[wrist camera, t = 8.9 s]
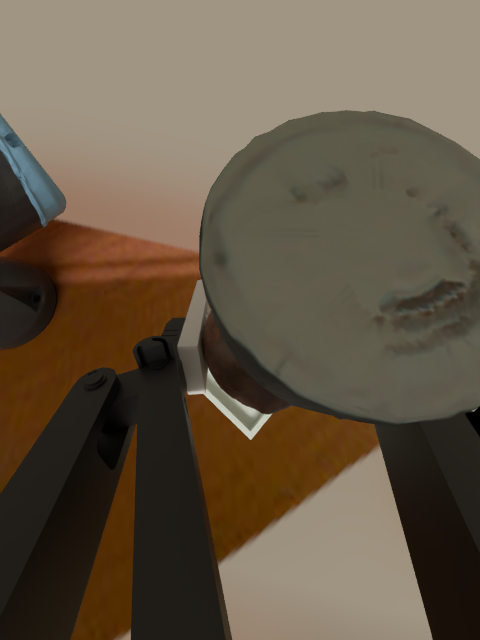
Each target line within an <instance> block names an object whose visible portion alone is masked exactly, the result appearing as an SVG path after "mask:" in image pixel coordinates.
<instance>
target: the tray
mask: <svg viewBox="0 0 480 640" xmlns="http://www.w3.org/2000/svg"><path fill="white" fill-rule="evenodd" d="M204 395H205V396H206V397H207V398H208V399H209V400H210V401H211V402H212V403H213V404H214V405H215V406H216V407H217V408H219V409H220V410H221V411H222V412H223V413H224V414H225V415H226V416H227V417H228V418H229V419H230V420H231V421H232V422H233V423H234V424H235V425H236V426H237V427H238V428H239V429H240V430H241V431H242V432H243V433H244V434H245V435H246V436H247V437H248V438H249V439H250V440H251V439H252V438H253V437H254V436H255V434H256V433H257V432H258V431H259V429H260V428H261V427H262V426H263V424H264V423H265V422H266V421H267V419H268V418H269V417H270V416H271V414H262V413H260V412H259V411H257V410H255V409H253V408H250V407H247V406H245V405H243V404H241V403H240V402H238V401H237V400H236V399H233V398H231V397H230V396H229V395H228V394H227V393H225V392H224V391H223V390H222V389H221V388H220V387H219V385H218V384H217V383H216V381H215V379H214V378H213V376H212V374H211V373H210V371H209V368H208V374H207V384H206V393H205V394H204Z"/></svg>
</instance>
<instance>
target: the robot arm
mask: <svg viewBox="0 0 480 640" xmlns="http://www.w3.org/2000/svg"><path fill="white" fill-rule="evenodd" d="M65 208H66V200H65V197H64V195H63V194H62V192H61V191H60V190H59V188H58V187H57V186H56V184H55V183H54V182H53V181H52V179H51V178H50V177H49V176H48V174H47V173H46V172H45V170H44V169H43V168H42V167H41V165H40V164H39V163H38V161H37V160H36V159H35V158H34V156H33V155H32V154H31V152H30V151H29V150H28V149H27V147H26V146H25V145H24V144H23V142H22V141H21V140H20V138H19V137H18V136H17V134H16V133H15V132H14V131H13V129H12V128H11V127H10V126H9V124H8V123H7V122H6V120H5V119H4V118H3V117H2V115H1V114H0V252H1V251H3V250H4V249H6V248H8V247H9V246H11V245H13V244H15V243H16V242H18V241H20V240H21V239H23V238H25V237H26V236H28V235H30V234H32V233H33V232H35V231H37V230H38V229H40V228H42V227H46V226H47V224H48V222H49V221H51V220H52V219H54V218H55V217H57V216H58V215H60V214H61V213H63V211H64V210H65ZM55 305H56V291H55V287H54V284H53V282H52V280H51V279H50V278H49V276H48V275H47V274H46V273H45V272H43V271H42V270H40V269H38V268H36V267H34V266H32V265H30V264H28V263H26V262H23V261H20V260H16V259H11V258H5V257H0V350H2V349H10V348H14V347H18V346H20V345H23V344H25V343H27V342H28V341H30V340H32V339H33V338H34V337H36V336H37V335H38V334H39V333H40V332H41V331H42V330H43V329H44V328H45V327H46V325H47V324H48V322H49V321H50V319H51V317H52V315H53V313H54V310H55ZM210 311H211V309H210V307H209V304H208V301H207V299H206V296H205V291H204V287H203V283H202V280H198V281H197V284H196V287H195V291H194V294H193V297H192V300H191V304H190V307H189V310H188V313H187V316H186V318H173V319H171V320H170V321H169V322H168V323H167V324H166V326H165V328H164V331H163V333H162V335H161V336H152V337H149V338H146V339H144V340H142V341H140V342H139V343H138V344H137V345H136V346H135V347H134V349H133V354H134V356H135V359H136V361H137V364H138V367H139V368H138V369H136V370H133V371H130V372H126V373H122V374H119V375H116V373H115V371H114V370H113V369H111V368H99V369H95V370H93V371H91V372H88V373H87V374H85V375H84V376H82V377H81V378H80V379H79V380H78V381H77V382H76V383H75V384H74V386H73V387H72V389H71V390H70V392H69V393H68V395H67V396H66V398H65V399H64V401H63V402H62V404H61V405H60V407H59V408H58V410H57V411H56V413H55V414H54V416H53V417H52V419H51V420H50V422H49V423H48V425H47V426H46V428H45V429H44V430H43V432H42V433H41V435H40V436H39V438H38V439H37V441H36V442H35V444H34V445H33V447H32V448H31V450H30V451H29V453H28V454H27V456H26V457H25V459H24V460H23V462H22V463H21V465H20V466H19V468H18V469H17V471H16V472H15V474H14V475H13V476H12V478H11V479H10V481H9V482H8V484H7V485H6V487H5V488H4V490H3V491H2V493H1V494H0V640H70V639H71V636H72V633H73V629H74V626H75V623H76V619H77V616H78V613H79V610H80V606H81V603H82V600H83V596H84V593H85V590H86V587H87V583H88V580H89V577H90V573H91V570H92V567H93V564H94V560H95V557H96V554H97V550H98V547H99V544H100V541H101V537H102V534H103V531H104V528H105V524H106V521H107V518H108V514H109V511H110V508H111V505H112V501H113V498H114V495H115V491H116V488H117V485H118V482H119V478H120V475H121V472H122V468H123V465H124V462H125V459H126V455H127V452H128V449H129V445H130V442H131V439H132V436H133V432H134V429H135V426H136V424H137V456H136V489H135V521H134V554H133V587H132V620H131V640H232V636H231V632H230V626H229V621H228V616H227V610H226V605H225V600H224V595H223V590H222V584H221V579H220V574H219V569H218V564H217V559H216V553H215V548H214V543H213V538H212V533H211V528H210V522H209V517H208V512H207V507H206V502H205V496H204V491H203V486H202V481H201V476H200V471H199V465H198V460H197V455H196V450H195V445H194V439H193V434H192V429H191V424H190V419H189V414H188V408H187V403H186V399H185V392H186V387H187V391H188V394H205V393H206V384H207V374H208V365H207V363H206V358H205V355H204V346H203V338H202V337H203V333H204V328H205V324H206V320H207V318H208V315H209V313H210ZM374 425H375V428H376V432H377V436H378V439H379V443H380V447H381V450H382V454H383V458H384V461H385V465H386V468H387V472H388V476H389V479H390V483H391V487H392V490H393V494H394V498H395V502H396V505H397V509H398V513H399V516H400V520H401V524H402V527H403V531H404V535H405V538H406V542H407V546H408V549H409V553H410V557H411V560H412V564H413V568H414V571H415V575H416V578H417V582H418V586H419V589H420V593H421V597H422V600H423V604H424V608H425V612H426V615H427V619H428V623H429V626H430V630H431V634H432V638H433V640H480V406H479V407H478V408H477V409H476V410H475V411H474V412H472V411H469V412H467V413H464V414H461V415H457V416H454V417H452V418H450V419H444V420H435V421H426V422H416V423H415V422H412V423H407V424H402V425H397V426H384V425H377V424H374Z"/></svg>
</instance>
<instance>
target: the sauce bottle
mask: <svg viewBox="0 0 480 640" xmlns="http://www.w3.org/2000/svg"><path fill="white" fill-rule="evenodd" d="M199 269H200V274H201V278H202V283H203V287H204V291H205V296H206V299H207V301H208V304H209V307H210V309H211V311H210V313H209V315H208V318H207V320H206V324H205V328H204V333H203V337H202V338H203V346H204V355H205V358H206V363H207V365H208V368H209V371H210V373H211V374H212V376H213V378H214V379H215V381H216V383H217V384H218V385H219V387H220V388H221V389H222V390H223V391H224V392H225V393H227V394H228V395H229V396H230V397H231V398H233V399H236V400H237V401H238V402H240V403H241V404H243V405H245V406H247V407H250V408H253V409H255V410H257V411H259V412H260V413H262V414H272V413H275V412H277V411H280V410H283V409H285V408H288V407H290V406H293V405H294V406H297V407H301V408H304V409H308V410H312V411H316V412H320V413H324V414H328V415H333V416H335V417H336V418H338V419H349V420H354V421H359V422H365V423H371V424H377V425H384V426H397V425H402V424H407V423H412V422H415V423H416V422H426V421H435V420H444V419H450V418H452V417H454V416H457V415H461V414H464V413H467V412H469V411H472V410H475V409H476V408H478V407H479V406H480V159H478V158H477V157H476V156H474V155H473V154H471V153H470V152H468V151H467V150H466V149H464V148H463V147H461V146H460V145H459V144H457V143H456V142H454V141H452V140H450V139H448V138H446V137H444V136H443V135H441V134H439V133H437V132H434V131H433V130H431V129H429V128H427V127H425V126H423V125H421V124H419V123H417V122H415V121H413V120H411V119H408V118H403V117H398V116H393V115H389V114H384V113H380V112H376V111H368V112H359V111H347V110H346V111H338V112H321V113H318V114H314V115H310V116H306V117H303V118H298V119H293V120H289V121H287V122H285V123H284V124H282V125H280V126H278V127H276V128H275V129H273V130H271V131H270V132H267V133H264V134H262V135H259V136H257V137H254V139H253V140H252V141H251V142H250V143H249V144H248V145H247V146H246V147H245V148H244V149H242V150H241V151H239V152H238V153H236V154H235V155H234V156H233V158H232V159H231V160H230V161H229V163H228V164H227V165H226V167H225V168H224V169H223V170H222V172H221V174H220V175H219V177H218V178H217V180H216V181H215V183H214V184H213V186H212V187H211V189H210V192H209V194H208V197H207V200H206V203H205V207H204V210H203V216H202V221H201V228H200V248H199Z"/></svg>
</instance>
